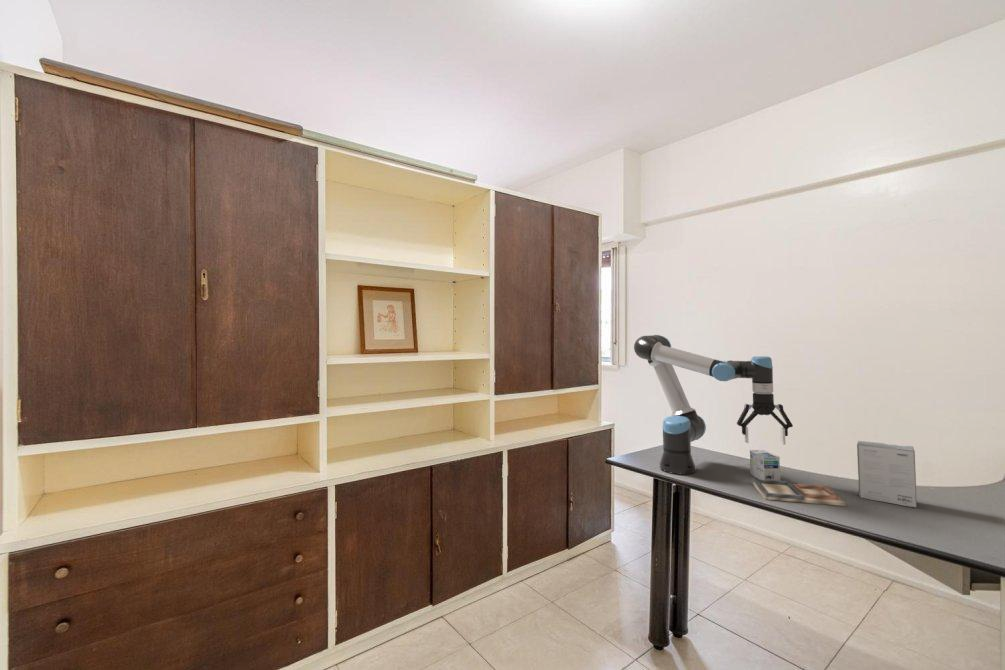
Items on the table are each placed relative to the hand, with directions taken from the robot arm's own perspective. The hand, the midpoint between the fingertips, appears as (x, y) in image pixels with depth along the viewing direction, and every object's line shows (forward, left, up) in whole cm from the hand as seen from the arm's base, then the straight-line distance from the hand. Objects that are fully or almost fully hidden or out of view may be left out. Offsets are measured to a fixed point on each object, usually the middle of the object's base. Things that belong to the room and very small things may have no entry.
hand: (764, 443), depth 177 cm
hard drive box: (+35, -15, -15) cm, 41 cm away
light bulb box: (0, 0, -15) cm, 15 cm away
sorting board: (+6, -17, -15) cm, 23 cm away
